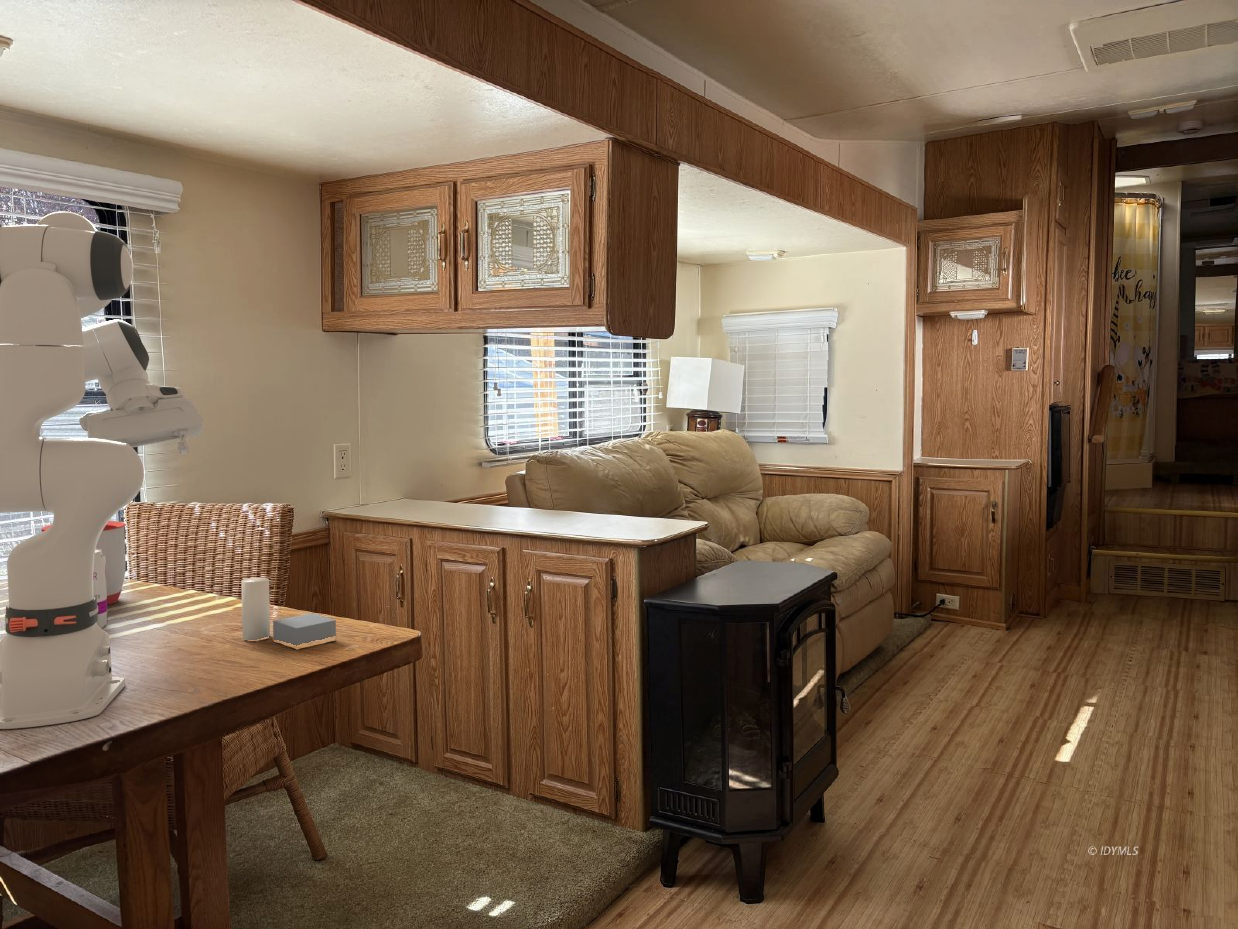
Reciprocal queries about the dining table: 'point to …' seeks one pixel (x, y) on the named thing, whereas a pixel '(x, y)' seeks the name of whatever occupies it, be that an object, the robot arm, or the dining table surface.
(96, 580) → the supplement can
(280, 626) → the plinth
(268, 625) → the white pillar candle
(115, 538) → the citrus juicer
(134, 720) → the dining table surface
